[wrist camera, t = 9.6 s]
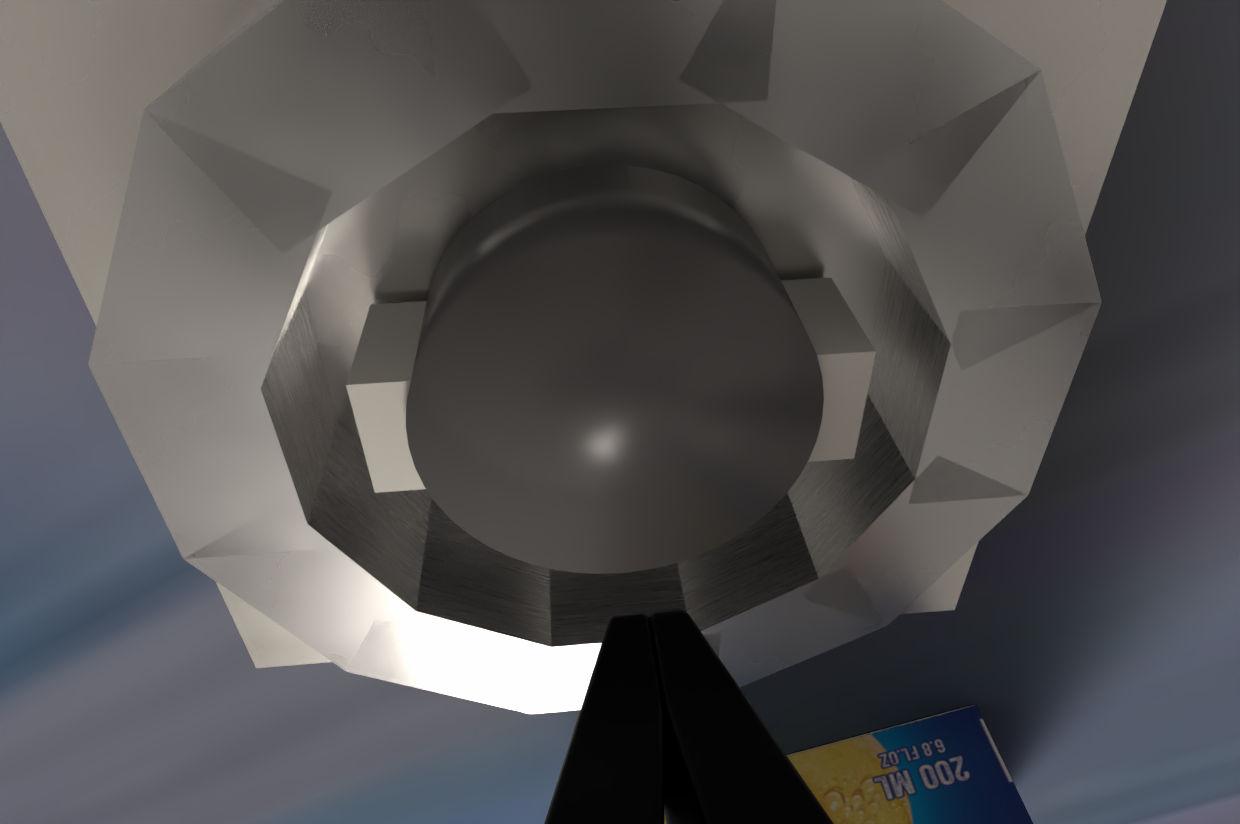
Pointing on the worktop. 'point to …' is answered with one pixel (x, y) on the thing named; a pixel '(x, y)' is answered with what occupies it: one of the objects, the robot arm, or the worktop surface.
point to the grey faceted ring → (502, 160)
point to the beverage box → (915, 775)
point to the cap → (608, 375)
